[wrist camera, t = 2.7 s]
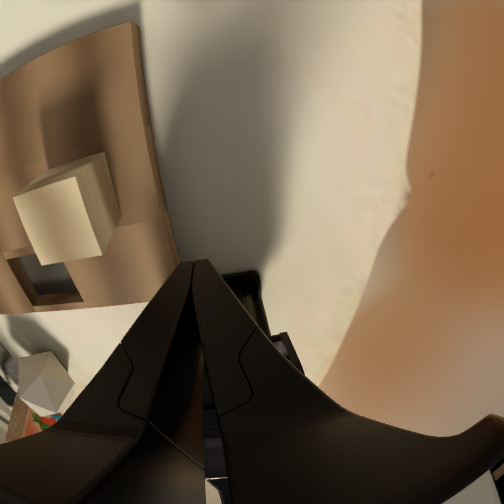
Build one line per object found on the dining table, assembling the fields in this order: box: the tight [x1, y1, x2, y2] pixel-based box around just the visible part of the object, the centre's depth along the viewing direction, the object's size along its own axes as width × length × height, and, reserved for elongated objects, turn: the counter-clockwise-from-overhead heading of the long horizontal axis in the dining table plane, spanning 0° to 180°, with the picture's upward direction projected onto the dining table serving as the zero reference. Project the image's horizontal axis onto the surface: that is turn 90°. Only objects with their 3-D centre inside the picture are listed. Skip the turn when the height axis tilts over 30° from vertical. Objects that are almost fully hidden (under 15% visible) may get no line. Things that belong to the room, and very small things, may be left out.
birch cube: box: [13, 152, 122, 265], centre depth 14 cm, size 4×4×4 cm
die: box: [18, 351, 75, 417], centre depth 25 cm, size 8×9×10 cm
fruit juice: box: [5, 388, 64, 443], centre depth 22 cm, size 9×9×28 cm
